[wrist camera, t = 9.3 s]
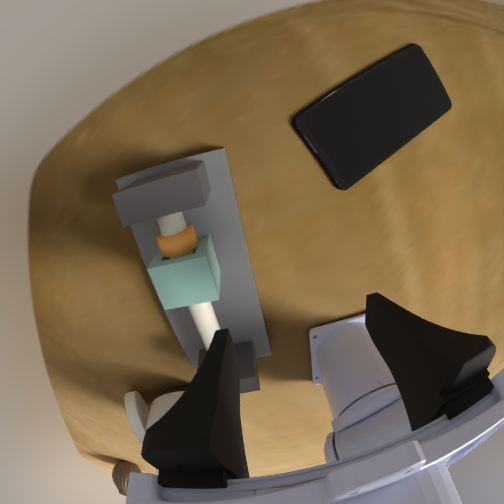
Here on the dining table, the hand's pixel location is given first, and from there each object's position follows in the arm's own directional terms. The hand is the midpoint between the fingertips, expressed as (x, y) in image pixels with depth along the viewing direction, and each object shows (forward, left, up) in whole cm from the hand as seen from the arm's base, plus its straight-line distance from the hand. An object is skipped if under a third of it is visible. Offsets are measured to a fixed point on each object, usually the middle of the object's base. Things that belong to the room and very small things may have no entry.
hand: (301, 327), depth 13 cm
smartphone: (+10, -11, -10) cm, 18 cm away
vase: (-45, +39, -10) cm, 60 cm away
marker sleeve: (+2, +6, -7) cm, 10 cm away
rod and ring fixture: (-1, +6, -9) cm, 11 cm away
